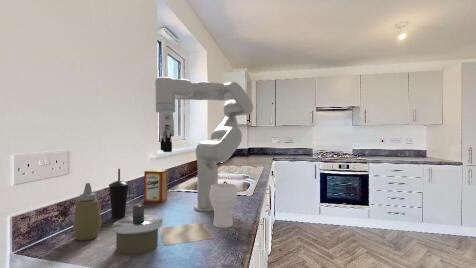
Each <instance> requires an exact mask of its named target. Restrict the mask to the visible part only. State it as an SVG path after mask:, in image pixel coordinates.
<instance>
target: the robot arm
mask: <svg viewBox="0 0 476 268" xmlns="http://www.w3.org/2000/svg"><path fill="white" fill-rule="evenodd" d="M154 85H155V113H158V127H159V128H158V129H159V136H160V150H161V151H163V153H172V152H173V141H172V137H175V119H174V118H175V117H174V113H176V100H179V101H180V100H183V101H184V100H186V101H187V100H188V101H189V100H190V101H193V100H194V101H226V102H225V103H224V105H223V114H224V115H223V117H224V118H223V120H222V121H221V123H220V124H219V125H218V126H217V127H216V128H215V130H213V131H212V133H211V135H210V140H203V141H201V142H199V143H198V144H197V145H196V147H195V157H196V162H197V189H196V190H197V194H196V195H197V197H196V198H197V201H196V202H197V203H196V204H194V205H193V209H194V210H195V211H198V212H214V209H213V207H212V205H211V202H210V189H211V185H213V184H219V171H218V170H219V169H218V165H217V163H224V162H226V161H228V160H229V159H230V158H231V157H232V155H233V154H234V153H235V152H236V150H237V149H238V148H239V146H240V145H241V142H242V139H243V133H242V131H241V129H239V122H238V120H237V116H249V115H250V114H251V113H253V109H254V104H253V100H251V97H249V96H248V94H247V93H246V91H245V89H244V88H243V87H242V86H241V85H240V84H239V83H238V82H237V81H230V82H224V83H220V82H212V81H199V82H192V81H191V80H189V79H186V78H172V77H170V76H158V77H157V78H156V79H155V83H154Z"/></svg>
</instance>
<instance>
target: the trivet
mask: <svg viewBox="0 0 476 268" xmlns="http://www.w3.org/2000/svg"><path fill="white" fill-rule="evenodd" d="M159 230H160V231H159V232H160V235H161V240H162V244H163V247H165V246H172V245H173V246H174V245H179V244H185V243H193V242H200V241H201V242H202V241H207V240H213V239H215V237H214V236H213V234H212V233H211V232H210V230H209V229H208V228H207V226H206V225H205V224H204V222H198V223H197V222H195V223H190V224H180V225H179V224H178V225H173V226H172V225H170V226H161V227H159Z"/></svg>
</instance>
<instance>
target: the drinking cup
mask: <svg viewBox="0 0 476 268" xmlns="http://www.w3.org/2000/svg"><path fill="white" fill-rule="evenodd" d="M117 172H118V173H117V180H116V181H112V182H111V183H108V187H109V195H110V196H109V197H110V209H111V218H112V219H123V218H125V216H126V209H127V198H128V189H129V186H130V183H129V182H127V181H124V180H121V168H118V170H117Z"/></svg>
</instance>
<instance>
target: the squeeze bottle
mask: <svg viewBox="0 0 476 268" xmlns="http://www.w3.org/2000/svg"><path fill="white" fill-rule="evenodd" d="M101 226H102V220H101V210H100V201H99V200H98V199H97V193H96V192H93V190H92V185H91V183H90V182H86V183H85V185H84V189H83V193H80V194H79V200H78V201H77V202H76V203H75V210H74V218H73V226H72V229H73V232H74V235H75V238H76V239H77V241H82V242H83V241H89V240H92V239H95V238H97V236H98V235H99V232H100V230H101Z"/></svg>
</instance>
